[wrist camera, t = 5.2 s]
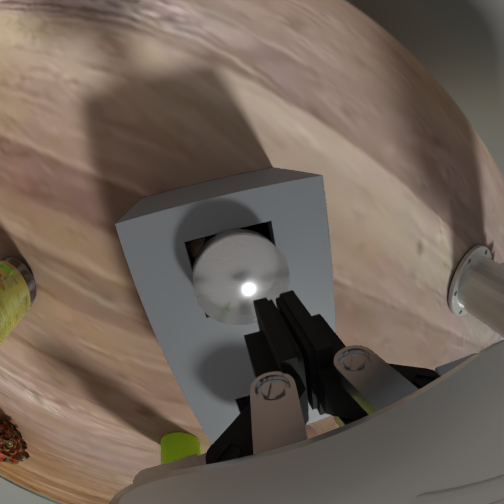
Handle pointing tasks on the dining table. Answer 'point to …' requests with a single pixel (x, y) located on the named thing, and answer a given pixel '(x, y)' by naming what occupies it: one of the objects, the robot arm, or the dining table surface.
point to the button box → (181, 278)
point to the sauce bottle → (14, 294)
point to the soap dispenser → (178, 446)
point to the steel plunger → (238, 275)
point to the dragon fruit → (11, 444)
